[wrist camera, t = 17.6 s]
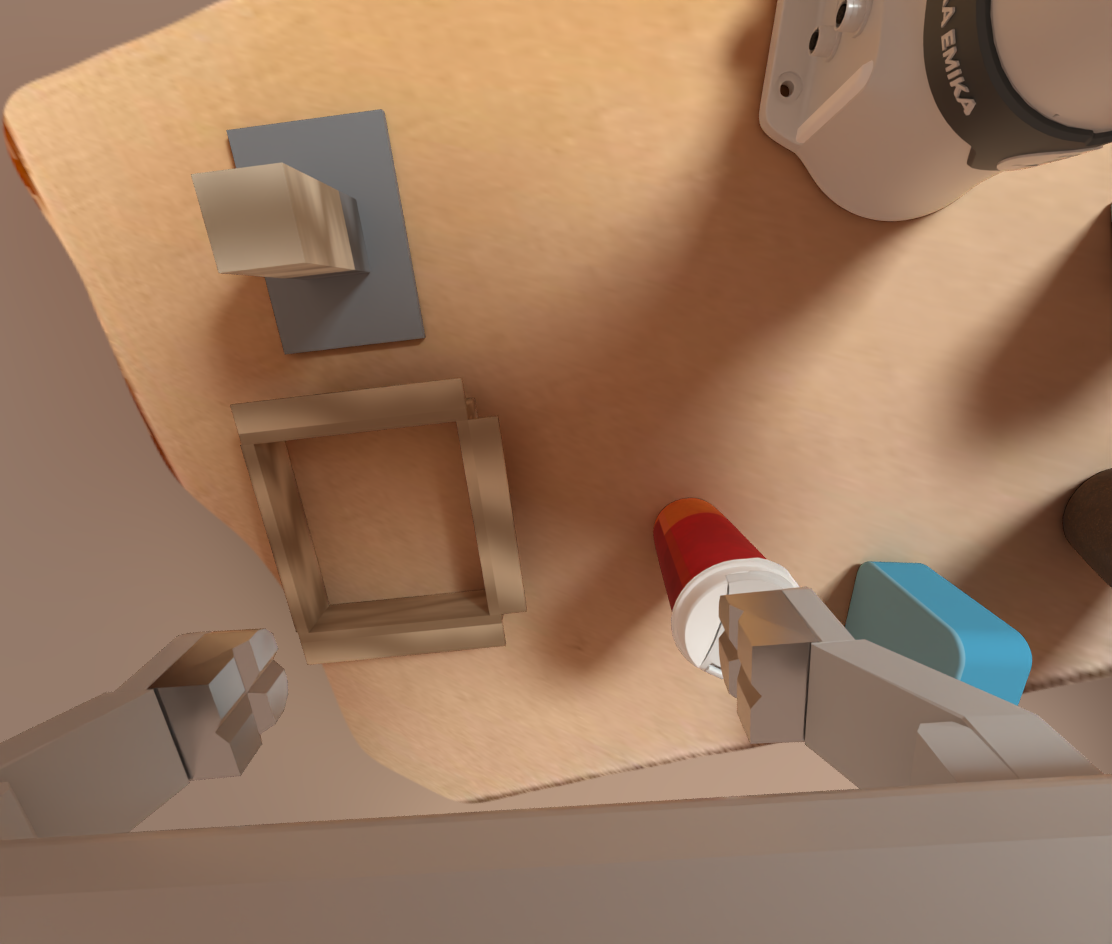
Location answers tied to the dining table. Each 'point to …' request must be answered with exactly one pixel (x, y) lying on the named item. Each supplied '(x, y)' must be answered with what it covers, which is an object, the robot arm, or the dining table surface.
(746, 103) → the dining table surface
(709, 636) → the paper cup
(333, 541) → the dining table surface
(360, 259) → the box
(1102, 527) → the plant pot
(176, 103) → the dining table surface
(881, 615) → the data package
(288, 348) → the rubber mat
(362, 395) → the wooden frame
